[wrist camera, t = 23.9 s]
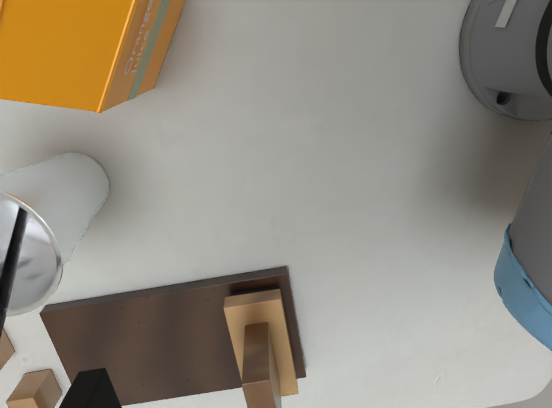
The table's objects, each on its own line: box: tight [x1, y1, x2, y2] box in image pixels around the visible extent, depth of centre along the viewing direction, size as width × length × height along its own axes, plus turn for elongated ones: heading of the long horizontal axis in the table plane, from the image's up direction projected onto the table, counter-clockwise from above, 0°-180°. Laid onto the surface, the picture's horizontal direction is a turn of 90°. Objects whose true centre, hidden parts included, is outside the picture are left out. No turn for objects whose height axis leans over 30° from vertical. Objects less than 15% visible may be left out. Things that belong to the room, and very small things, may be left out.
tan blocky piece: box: [6, 369, 62, 408], centre depth 50 cm, size 4×4×3 cm
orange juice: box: [0, 0, 185, 113], centre depth 28 cm, size 8×9×20 cm
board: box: [39, 267, 306, 406], centre depth 49 cm, size 28×15×2 cm, turn 99°
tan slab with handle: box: [223, 285, 298, 408], centre depth 43 cm, size 6×13×12 cm, turn 9°
